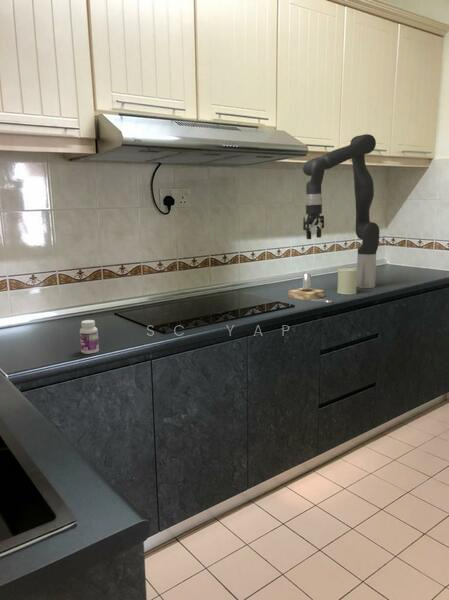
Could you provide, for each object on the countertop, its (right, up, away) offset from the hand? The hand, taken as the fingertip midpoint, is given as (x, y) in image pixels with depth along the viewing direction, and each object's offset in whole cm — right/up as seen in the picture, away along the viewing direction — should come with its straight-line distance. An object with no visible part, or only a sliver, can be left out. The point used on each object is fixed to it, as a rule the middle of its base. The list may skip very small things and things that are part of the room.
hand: (313, 238), depth 231 cm
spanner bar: (0, -30, -14) cm, 33 cm away
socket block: (-4, -28, -4) cm, 29 cm away
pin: (-4, -28, -4) cm, 29 cm away
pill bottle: (-84, -46, -81) cm, 126 cm away
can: (+17, -26, +5) cm, 32 cm away
